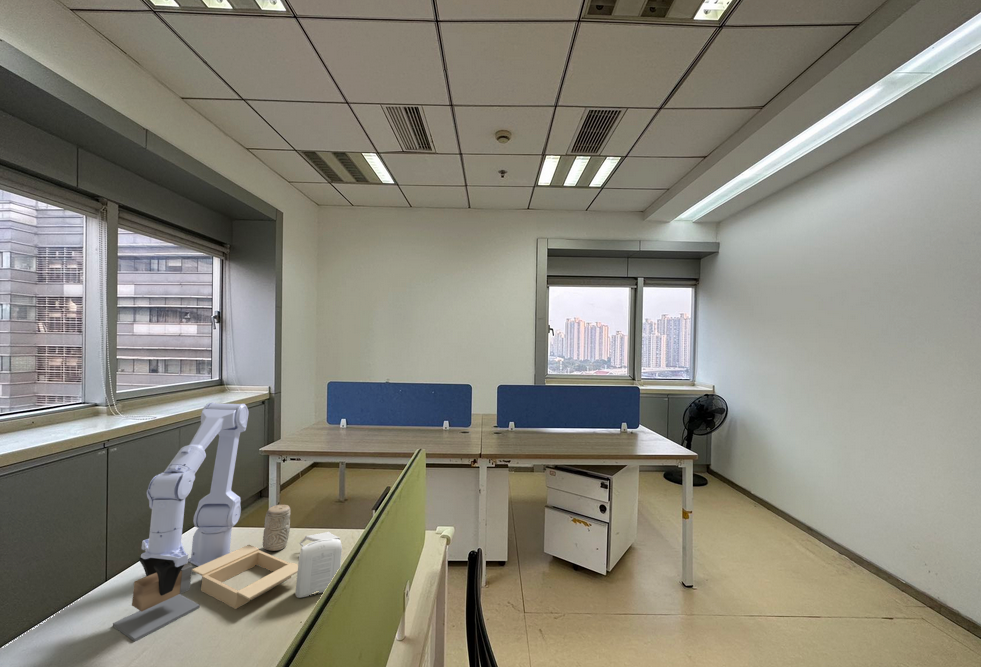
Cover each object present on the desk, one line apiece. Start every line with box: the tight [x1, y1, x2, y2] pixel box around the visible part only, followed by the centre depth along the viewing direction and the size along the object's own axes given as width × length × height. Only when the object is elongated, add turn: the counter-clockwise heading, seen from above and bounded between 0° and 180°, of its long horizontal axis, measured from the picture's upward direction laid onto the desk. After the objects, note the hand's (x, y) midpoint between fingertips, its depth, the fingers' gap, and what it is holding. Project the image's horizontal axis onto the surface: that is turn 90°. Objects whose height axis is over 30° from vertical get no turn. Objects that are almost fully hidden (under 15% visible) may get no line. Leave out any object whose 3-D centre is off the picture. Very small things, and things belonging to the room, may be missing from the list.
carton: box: [192, 544, 298, 610], centre depth 99 cm, size 22×15×4 cm, turn 65°
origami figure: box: [299, 531, 341, 547], centre depth 116 cm, size 12×8×5 cm
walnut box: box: [131, 563, 193, 612], centre depth 86 cm, size 4×9×5 cm, turn 155°
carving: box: [262, 504, 291, 552], centre depth 117 cm, size 6×8×12 cm
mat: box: [112, 593, 201, 643], centre depth 86 cm, size 9×12×1 cm
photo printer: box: [295, 539, 343, 598], centre depth 99 cm, size 10×4×12 cm, turn 123°
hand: (160, 589), depth 86 cm, fingers closed on walnut box, 4 cm apart
